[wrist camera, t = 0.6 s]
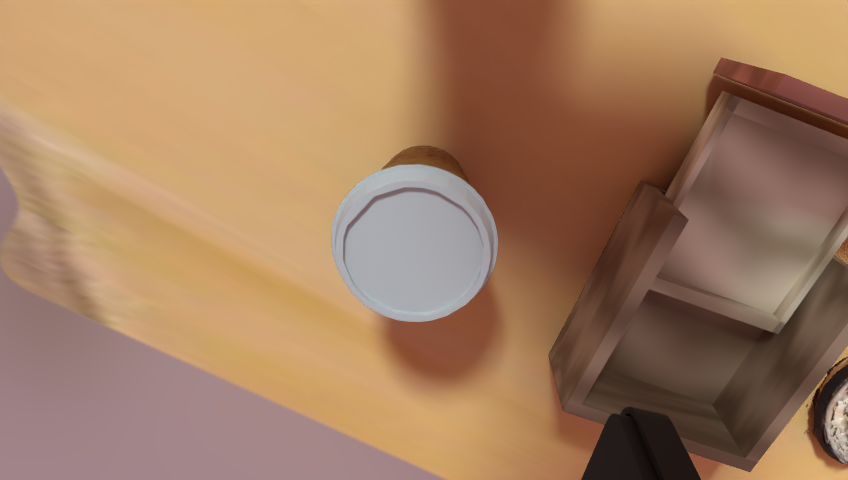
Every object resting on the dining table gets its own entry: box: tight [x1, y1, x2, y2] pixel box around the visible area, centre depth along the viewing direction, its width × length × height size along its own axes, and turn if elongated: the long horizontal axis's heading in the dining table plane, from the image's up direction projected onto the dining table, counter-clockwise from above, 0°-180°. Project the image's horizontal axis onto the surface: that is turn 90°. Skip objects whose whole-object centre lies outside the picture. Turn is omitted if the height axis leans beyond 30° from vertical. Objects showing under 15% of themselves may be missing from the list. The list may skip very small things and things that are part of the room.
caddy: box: [549, 181, 848, 472], centre depth 43 cm, size 16×15×7 cm
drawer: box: [649, 58, 848, 334], centre depth 38 cm, size 16×14×8 cm
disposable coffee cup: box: [331, 146, 498, 322], centre depth 38 cm, size 10×10×12 cm
